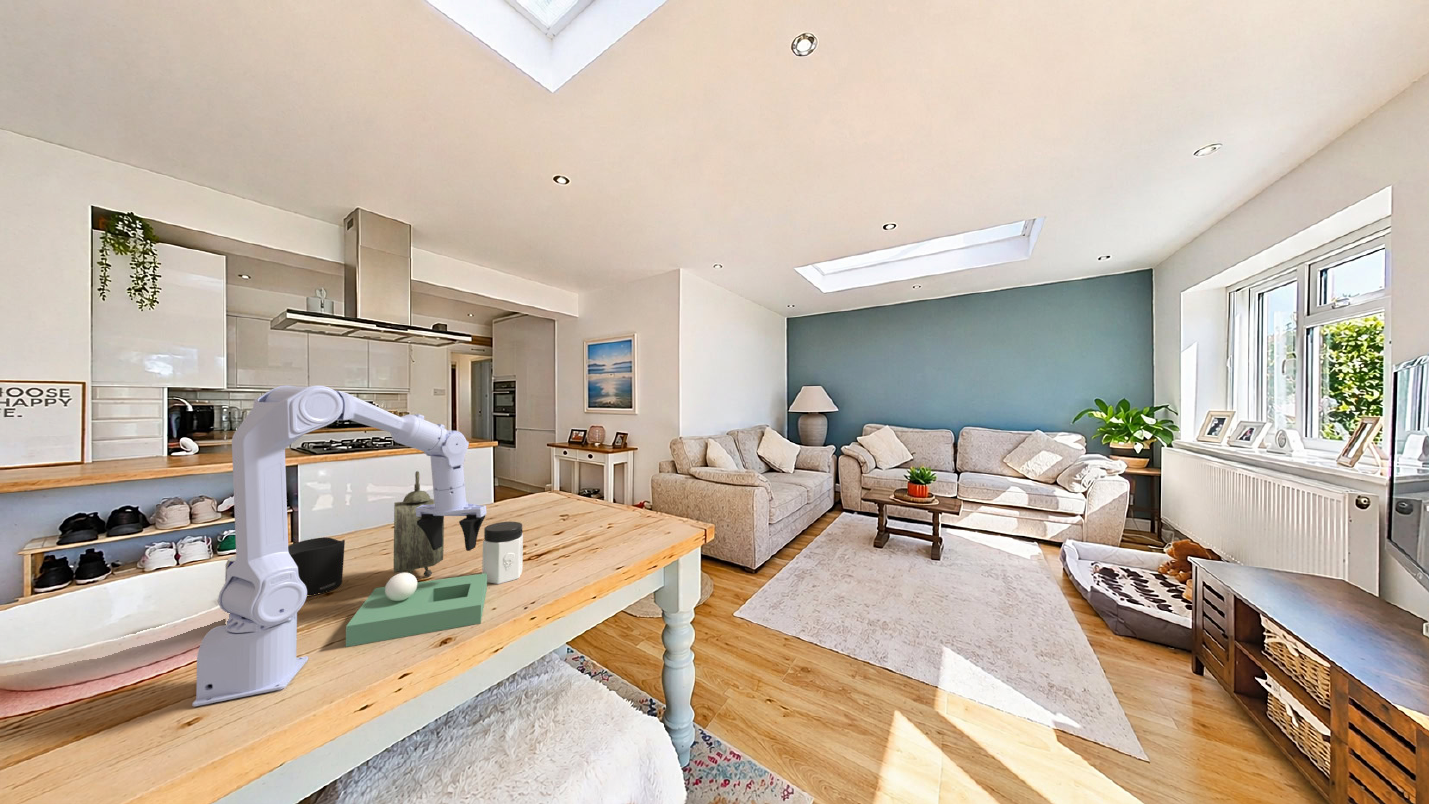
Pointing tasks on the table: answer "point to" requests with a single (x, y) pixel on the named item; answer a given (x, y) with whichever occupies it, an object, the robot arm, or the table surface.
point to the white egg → (401, 586)
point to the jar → (502, 552)
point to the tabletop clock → (413, 535)
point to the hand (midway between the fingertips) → (454, 548)
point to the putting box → (419, 610)
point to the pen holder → (319, 563)
